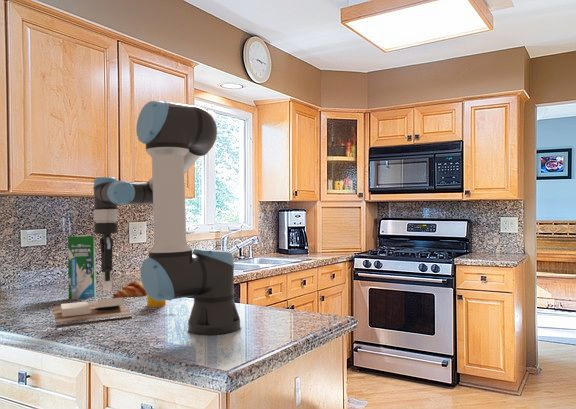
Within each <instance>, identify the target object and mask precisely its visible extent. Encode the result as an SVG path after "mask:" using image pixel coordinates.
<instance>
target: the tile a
mask: <svg viewBox="0 0 576 409" xmlns="http://www.w3.org/2000/svg"><path fill="white" fill-rule="evenodd" d="M60 306H61V314H62V317H69V316H78V315H87V314H90V306H89V304H88V301H79V302H69V303H61V304H60Z"/></svg>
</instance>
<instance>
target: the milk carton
mask: <svg viewBox="0 0 576 409" xmlns="http://www.w3.org/2000/svg"><path fill="white" fill-rule="evenodd" d="M67 254H68V255H67V256H68V258H67V261H68V263H67V264H68V269H67V270H68V300H69V301H70V300H72V301H73V300H81V299H83V300H84V299H91V298H96V296H97V280H96V279H97V278H96V276H97V275H96V269H97V268H96V239H95V237H94V235H76V236H67Z"/></svg>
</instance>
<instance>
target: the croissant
mask: <svg viewBox="0 0 576 409" xmlns="http://www.w3.org/2000/svg"><path fill="white" fill-rule="evenodd" d="M112 296H113V298H122V297H123V298H132V297H140V296H147V293H146V291H145V289H144V287H143V284H142V281H137V280H136V281H130V282H129V283H128V284H126V286H124V287H123V288H122V289H121V290H118V291H117V292H115V293H113V294H112Z"/></svg>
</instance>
